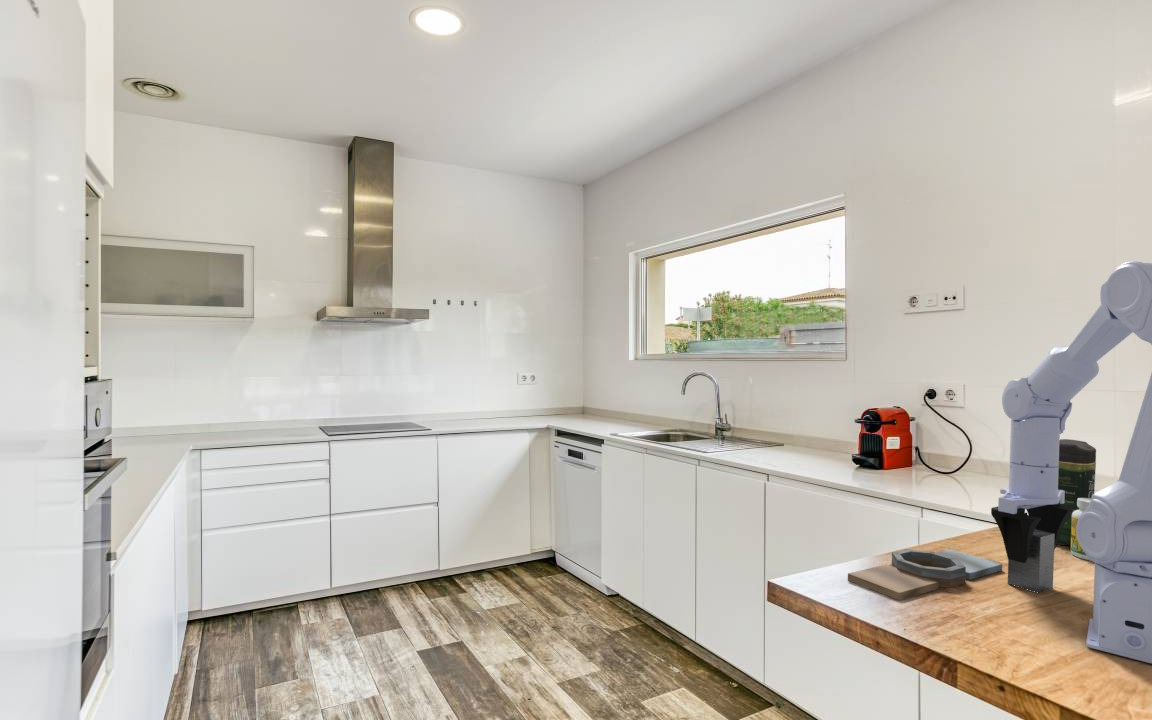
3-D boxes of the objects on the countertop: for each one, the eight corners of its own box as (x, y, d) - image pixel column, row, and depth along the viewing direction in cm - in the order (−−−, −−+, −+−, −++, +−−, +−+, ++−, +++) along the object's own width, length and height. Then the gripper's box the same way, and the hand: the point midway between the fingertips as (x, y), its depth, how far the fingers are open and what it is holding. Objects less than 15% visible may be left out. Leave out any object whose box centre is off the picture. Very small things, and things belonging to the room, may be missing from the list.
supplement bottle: (1110, 565, 99) (1112, 506, 99) (1068, 557, 103) (1070, 500, 103) (1112, 557, 103) (1114, 500, 103) (1072, 550, 107) (1073, 495, 107)
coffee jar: (1085, 551, 106) (1088, 444, 106) (1030, 539, 112) (1033, 438, 112) (1098, 541, 112) (1101, 440, 112) (1045, 531, 119) (1048, 435, 118)
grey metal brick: (1038, 593, 86) (1040, 537, 86) (1007, 583, 90) (1009, 529, 90) (1052, 588, 88) (1054, 533, 88) (1021, 579, 92) (1023, 526, 92)
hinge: (902, 601, 82) (903, 583, 82) (844, 579, 90) (844, 562, 90) (1005, 571, 95) (1006, 556, 95) (946, 554, 103) (947, 540, 103)
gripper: (1028, 456, 96) (1025, 542, 96) (976, 462, 89) (973, 555, 89) (1082, 463, 90) (1079, 555, 90) (1032, 471, 83) (1028, 571, 83)
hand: (1030, 556), depth 89 cm, fingers open, 7 cm apart
